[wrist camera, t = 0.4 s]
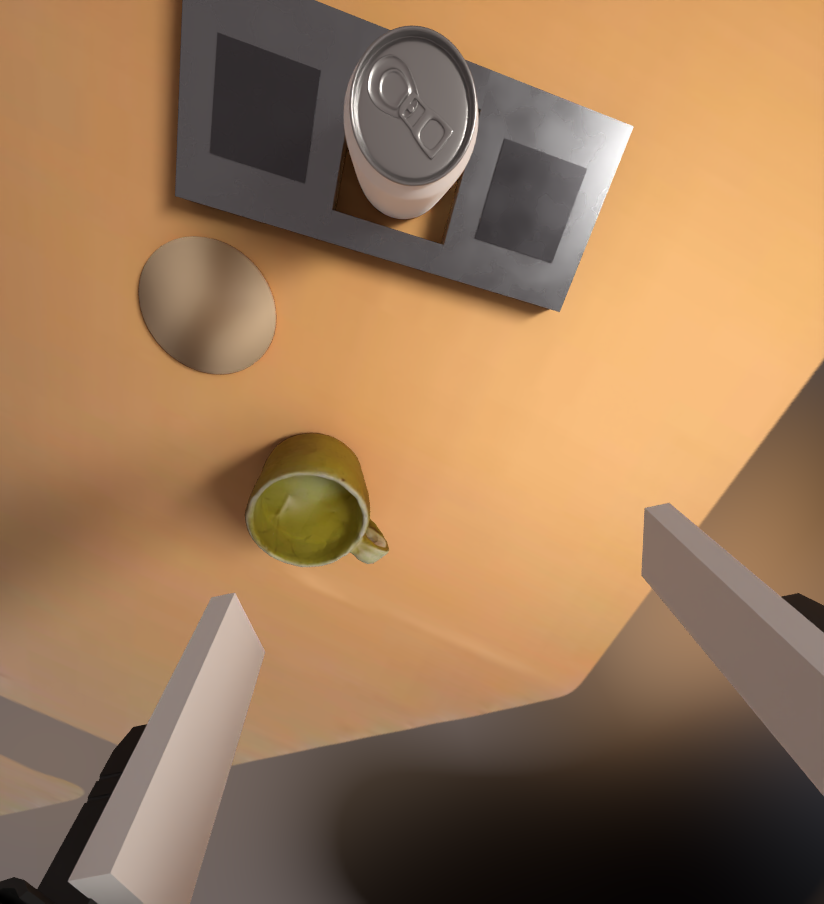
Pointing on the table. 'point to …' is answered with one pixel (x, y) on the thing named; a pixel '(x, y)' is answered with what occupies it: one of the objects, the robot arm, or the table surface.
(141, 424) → the table surface
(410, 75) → the can
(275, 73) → the panel
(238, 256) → the coaster
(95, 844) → the robot arm
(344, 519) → the mug
